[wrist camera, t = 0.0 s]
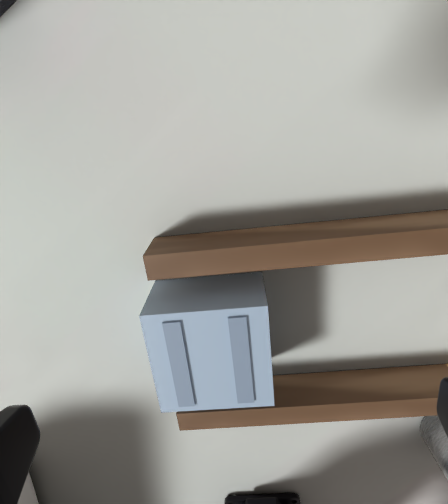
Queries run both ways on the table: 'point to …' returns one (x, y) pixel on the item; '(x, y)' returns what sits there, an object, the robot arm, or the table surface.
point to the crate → (209, 342)
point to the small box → (5, 5)
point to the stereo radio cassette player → (28, 493)
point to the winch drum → (436, 441)
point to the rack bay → (303, 255)
